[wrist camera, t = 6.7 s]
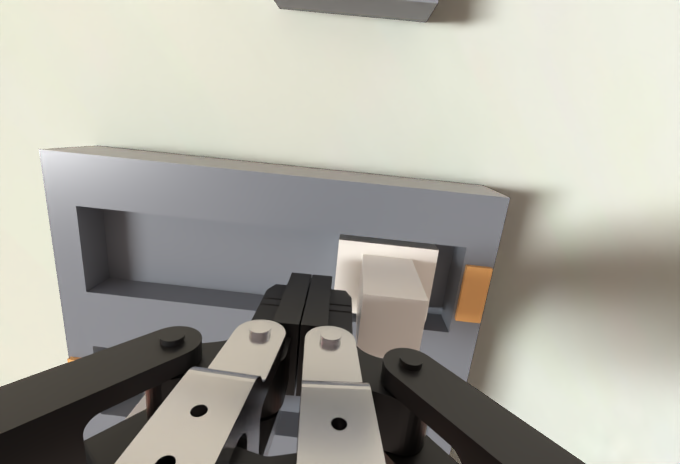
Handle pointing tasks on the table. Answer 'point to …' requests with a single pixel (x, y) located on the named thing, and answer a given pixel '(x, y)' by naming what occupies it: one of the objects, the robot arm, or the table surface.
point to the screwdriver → (366, 8)
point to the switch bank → (246, 248)
